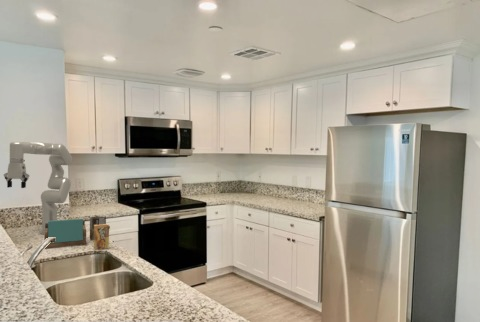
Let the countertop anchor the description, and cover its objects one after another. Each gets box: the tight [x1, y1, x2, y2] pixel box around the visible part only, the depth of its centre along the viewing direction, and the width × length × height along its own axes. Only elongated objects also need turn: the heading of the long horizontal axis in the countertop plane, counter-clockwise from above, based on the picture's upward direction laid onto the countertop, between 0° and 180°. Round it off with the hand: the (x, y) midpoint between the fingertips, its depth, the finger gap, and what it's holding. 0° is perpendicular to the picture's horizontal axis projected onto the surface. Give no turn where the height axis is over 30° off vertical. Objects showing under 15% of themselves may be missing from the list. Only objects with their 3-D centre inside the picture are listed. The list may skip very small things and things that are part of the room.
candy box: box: [93, 223, 110, 250], centre depth 216 cm, size 9×4×15 cm, turn 116°
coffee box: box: [89, 215, 107, 241], centre depth 235 cm, size 9×6×16 cm
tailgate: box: [48, 218, 84, 243], centre depth 218 cm, size 1×20×14 cm, turn 119°
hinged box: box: [43, 219, 87, 250], centre depth 225 cm, size 16×24×13 cm, turn 118°
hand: (16, 187), depth 219 cm, fingers open, 9 cm apart
